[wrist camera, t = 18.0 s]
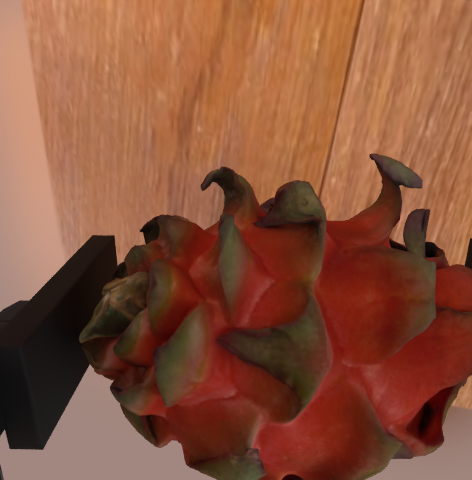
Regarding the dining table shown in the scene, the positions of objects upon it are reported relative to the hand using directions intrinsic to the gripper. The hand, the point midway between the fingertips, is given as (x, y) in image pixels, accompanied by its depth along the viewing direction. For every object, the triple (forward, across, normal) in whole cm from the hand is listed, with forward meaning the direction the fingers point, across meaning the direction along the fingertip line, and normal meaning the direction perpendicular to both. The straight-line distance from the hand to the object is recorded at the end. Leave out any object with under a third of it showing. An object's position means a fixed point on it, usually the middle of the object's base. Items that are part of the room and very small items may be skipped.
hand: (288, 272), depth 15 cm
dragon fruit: (+1, 0, 0) cm, 1 cm away
